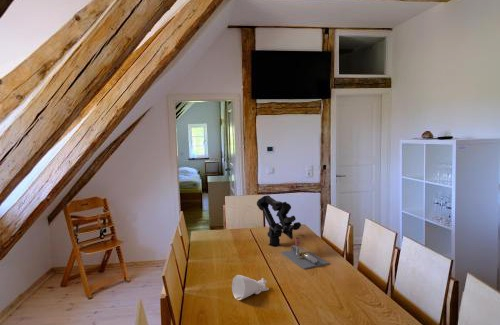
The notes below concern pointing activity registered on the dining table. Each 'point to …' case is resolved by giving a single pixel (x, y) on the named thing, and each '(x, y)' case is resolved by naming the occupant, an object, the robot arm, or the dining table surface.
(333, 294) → the dining table surface
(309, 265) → the mounting board
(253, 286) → the rocket engine
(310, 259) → the valve
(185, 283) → the dining table surface
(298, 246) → the lever
